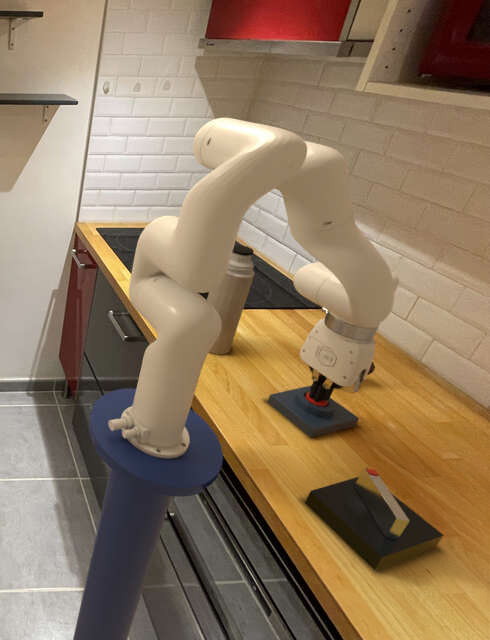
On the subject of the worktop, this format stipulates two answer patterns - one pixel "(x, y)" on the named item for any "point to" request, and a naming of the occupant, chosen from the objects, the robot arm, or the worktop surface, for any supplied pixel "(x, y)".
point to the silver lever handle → (381, 504)
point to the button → (320, 403)
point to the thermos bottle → (232, 296)
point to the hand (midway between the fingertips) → (317, 398)
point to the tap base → (370, 525)
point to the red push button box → (312, 412)
